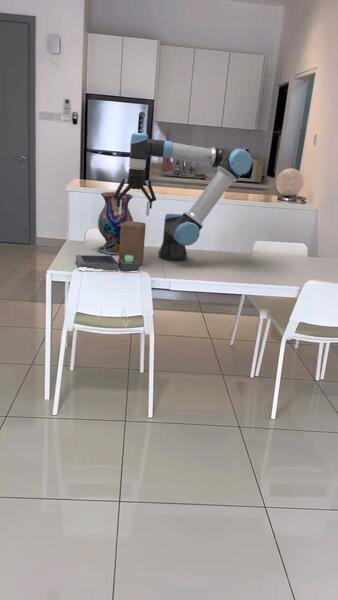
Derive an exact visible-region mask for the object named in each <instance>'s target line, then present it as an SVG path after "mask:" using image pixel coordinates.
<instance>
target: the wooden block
mask: <svg viewBox="0 0 338 600" xmlns="http://www.w3.org/2000/svg"><path fill="white" fill-rule="evenodd" d="M146 226H147V224H146V223H145V222H142V221H141V222H139V221H134V220H133V221H126V222H124V223H122V224H121V233H120V249H119V254H118V259H125V255H132V256H134V257H133V259H135V260H136V261H137V262H138V263H139V266H140V265H141V264H142V263H144V253H145V252H144V251H145V241H146V240H145V238H146Z"/></svg>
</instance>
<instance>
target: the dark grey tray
mask: <svg viewBox="0 0 338 600" xmlns="http://www.w3.org/2000/svg"><path fill="white" fill-rule="evenodd" d="M75 264H76V266H77V268H79V267H87V268H94V269H103V270H116V271H115V272H118V271H119V268H118V262H117V260H116V259H115V258H114V256H113V255H100V254H99V255H89V254H88V255H84V254H83V255H80V254H76V255H75Z"/></svg>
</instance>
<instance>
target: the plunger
mask: <svg viewBox="0 0 338 600" xmlns="http://www.w3.org/2000/svg"><path fill="white" fill-rule="evenodd" d="M133 257H134V256H132V255H125V261H124V262H125V263H133Z"/></svg>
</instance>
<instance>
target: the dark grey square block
mask: <svg viewBox="0 0 338 600" xmlns="http://www.w3.org/2000/svg"><path fill="white" fill-rule="evenodd" d="M117 261H118V262H117V263H118V270H119V271H120V272H121V271H137V270H139V271H140V265H139V263H138V262H137V261H136V260H135V259H133V263H125V262H124V261H125V259H119V258H118V259H117Z"/></svg>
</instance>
